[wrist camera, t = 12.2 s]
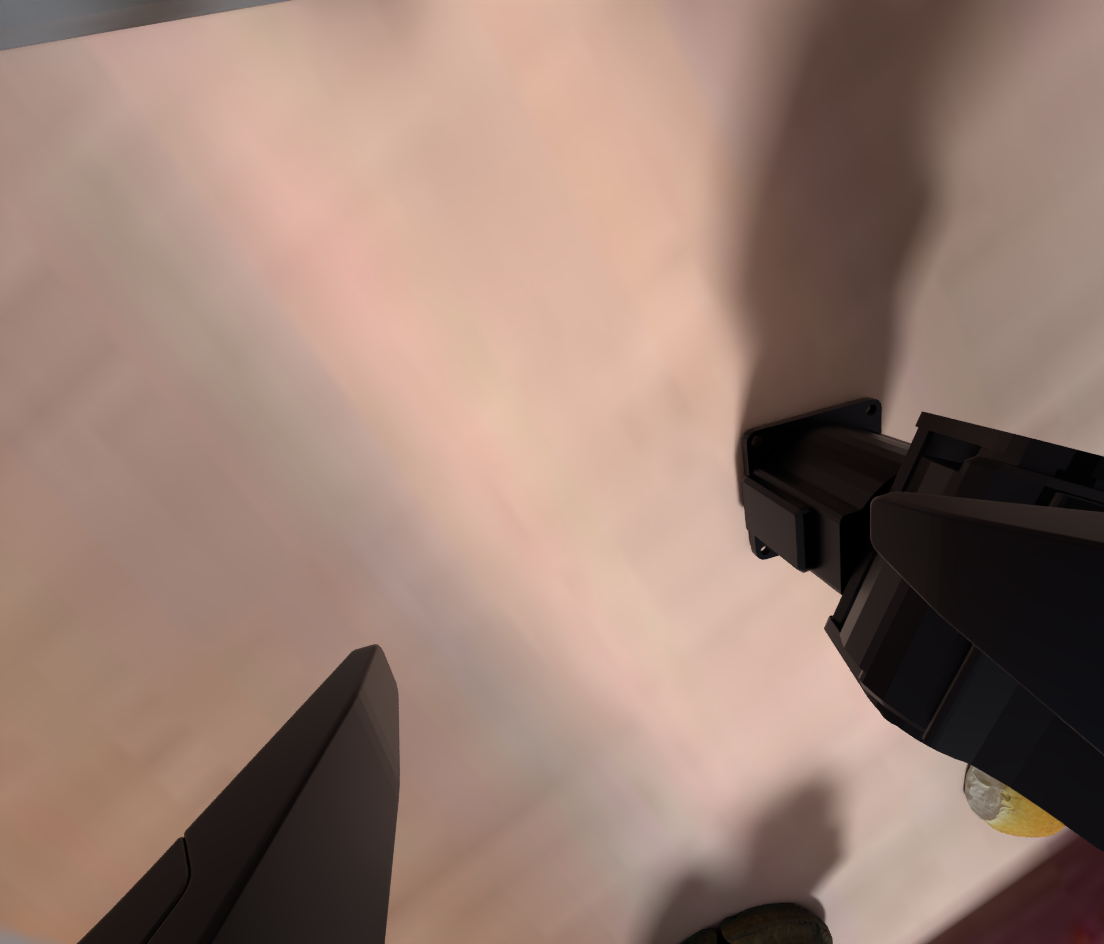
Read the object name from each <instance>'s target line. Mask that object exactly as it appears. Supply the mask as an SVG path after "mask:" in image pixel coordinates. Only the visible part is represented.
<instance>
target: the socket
mask: <svg viewBox="0 0 1104 944" xmlns="http://www.w3.org/2000/svg"><path fill="white" fill-rule="evenodd" d="M283 1H289V0H0V50H5V49H11V48H17V47H22V46H28V45H34V44H40V43H46V42H51V41H57V40H63V39H69V38H74V37H80V36H86V35H92V34H98V33H103V32H109V31H115V30H121V29H127V28H132V27H138V26H144V25H150V24H156V23H161V22H167V21H173V20H179V19H185V18H190V17H196V16H202V15H208V14H214V13H219V12H225V11H231V10H237V9H243V8H248V7H254V6H260V5H266V4H271V3H277V2H283Z"/></svg>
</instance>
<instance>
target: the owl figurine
mask: <svg viewBox="0 0 1104 944" xmlns="http://www.w3.org/2000/svg"><path fill="white" fill-rule="evenodd" d="M721 930H722V935H723V937H724V938H725V939H726V940H727V941H728V942H730V943H731V944H833V941H832V936H831V934H830V931H829V929H828V927H827V925H826V924H825V923H824V922H823V921H822V920H821V919H820V918H819V917H817V916H815V915H814V914H812V913H811V912H809V911H808V910H807V909H806V908H802V907H800V906H796V905H794V904H789V903H786V904H782V903H780V904H766V905H762V906H757V907H754V908H751V909H748V910H746V911H744V912H742V913H740V914H738V916H737V918H727V919H725V920H724V921H723V922H722V923H721ZM682 944H717V933H716V931H714V930H711V929H710V930H708V929H706V930H701V931H699V932H698V933H696V934H695V935H693V936H692V937H690V938H688V939H687V940H685V941H684V942H683V943H682Z"/></svg>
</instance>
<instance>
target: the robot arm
mask: <svg viewBox="0 0 1104 944" xmlns="http://www.w3.org/2000/svg"><path fill="white" fill-rule="evenodd" d="M868 406H870V409H869V411H868V412H867V413H866V410H867V408H868ZM881 412H882V407H881V403H880V402H879V400H876V399H873V398H869V397H867V398H862V399H858V400H854V401H851V402H847V403H843V404H840V405H836V406H832V407H828V408H825V409H821V410H817V411H814V412H810V413H806V414H803V415H799V416H795V417H792V418H788V419H784V420H781V421H777V422H773V423H770V424H766V425H762V426H759V427H755V428H751V429H749V430H747V431H746V432H745V433H744V435H743V437H742V450H743V461H744V472H745V477H744V479H743V481H742V488H743V499H744V510H745V521H746V528H747V530H748V531H750V540H751V550H752V552H753V553H754V554H755V555H756V556H757V557H758V558H759V559H762V560H763V559H769V558H772V557H775V556H779V555H780V556H781V557H782V558H783V559H785V560H786V561H787V562H788V563H790V564H791V565H792V566H793V567H795V568H796V569H797V570H799V571H801V572H803V573H804V572H808V571H811V572H812V573H814V574H815V575H816V576H818V577H819V578H820V579H821V580H823V581H824V582H825V583H827V584H828V585H829V586H830V587H832V588H833V589H834V590H836V591H837V592H838V593H840V594H841V595H842V597H841V599H840V601H839V604H838V606H837V608H836V610H835V612H834V615H833V616H829V618H828V621H827V623H826V625H825V627H824V630H825V631H826V633H827V634H828V636H829V637H830V639H831V640H832V642H833V644H834V645H835V647H836V648H837V650H838V651H839V653H840V655H841V656H842V658H843V659H844V661H845V662H846V664H847V666H848V667H849V669H850V670H851V672H852V673H853V675H854V677H855V678H856V680H857V681H858V683H859V684H860V686H861V687H862V689H863V691H864V692H865V694H866V695H867V697H868V698H869V699H870V701H871V702H872V703H873V705H874V706H875V707H876V708H877V709H878V710H879V712H880V713H881V715H882V716H883V717H884V718H885V719H886V720H887V721H889V722H890V723H892V724H894V725H896V726H898V727H899V728H900V729H902V730H903V731H905V732H906V733H908V734H909V735H911V736H912V737H914V738H915V739H917V740H918V741H920V742H922V743H924V744H925V745H927V746H929V747H931V748H933V749H935V750H936V751H939V752H941V753H943V754H945V755H948V756H950V757H952V758H954V759H958V760H961V761H964V762H966V763H968V764H970V765H972V766H974V767H975V768H977V769H979V770H980V771H982V772H984V773H986V774H987V775H989V776H991V777H993V778H994V779H996V780H998V781H1000V782H1001V783H1003V784H1005V785H1006V786H1008V787H1010V788H1011V789H1013V790H1014V791H1016V792H1017V793H1019V794H1020V795H1022V796H1023V797H1025V798H1026V799H1028V800H1029V801H1031V802H1032V803H1034V804H1035V805H1037V806H1038V807H1040V808H1041V809H1043V810H1044V811H1046V812H1047V813H1048V814H1050V815H1051V816H1053V817H1054V818H1055V819H1057V820H1058V821H1060V822H1061V823H1063V824H1064V825H1065V826H1067V827H1068V828H1070V829H1071V830H1073V831H1074V832H1075V833H1077V834H1078V835H1080V836H1081V837H1083V838H1084V839H1085V840H1087V841H1088V842H1090V843H1091V844H1093V845H1094V846H1095V847H1097V848H1099V849H1100V850H1102V851H1104V457H1103V456H1099V455H1096V454H1092V453H1088V452H1084V451H1080V450H1076V449H1072V448H1068V447H1064V446H1060V445H1056V444H1052V443H1048V442H1044V441H1040V440H1036V439H1032V438H1028V437H1024V436H1020V435H1016V434H1012V433H1008V432H1004V431H1000V430H996V429H992V428H988V427H984V426H980V425H976V424H971V423H967V422H963V421H959V420H955V419H951V418H947V417H943V416H939V415H935V414H931V413H926V412H921V415H920V417H919V419H918V421H917V423H916V427H918V429H917V432H916V434H915V436H914V438H913V441H912V443H908V442H905V441H902V440H899V439H896V438H893V437H890V436H887V435H884V434H881ZM756 436H757V437H758V439H757V442H756V443H755V444H753V445H752V440H753V438H754V437H756ZM765 545H766V547H765V549H764V550H762V551H761V549H762V547H763V546H765ZM399 787H400V754H399V697H398V689H397V684H396V681H395V679H394V676H393V674H392V671H391V669H390V666H389V664H388V662H387V659H386V657H385V654H384V652H383V650H382V648H381V647H380V646H379V645H377V644H373V645H370V646H366V647H363V648H359V649H356V650H354V651H352V652H351V653H350V654H349V655H348V656H347V658H346V659H345V660H344V661H343V662H342V663H341V664H340V665H339V666H338V667H337V668H336V669H335V670H334V672H333V673H332V674H331V675H330V676H329V677H328V678H327V679H326V680H325V681H324V682H323V683H322V685H321V686H320V687H319V688H318V689H317V690H316V691H315V692H314V693H313V694H312V695H311V696H310V697H309V699H308V700H307V701H306V702H305V703H304V704H303V705H302V706H301V707H300V708H299V709H298V710H297V711H296V713H295V714H294V715H293V716H292V717H291V718H290V719H289V720H288V721H287V722H286V723H285V724H284V725H283V727H282V728H281V729H280V730H279V731H278V732H277V733H276V734H275V735H274V736H273V737H272V738H271V739H270V741H269V742H268V743H267V744H266V745H265V746H264V747H263V748H262V749H261V750H260V751H259V752H258V753H257V755H256V756H255V757H254V758H253V759H252V760H251V761H250V762H249V763H248V764H247V765H246V766H245V767H244V768H243V770H242V771H241V772H240V773H239V774H238V775H237V776H236V777H235V778H234V779H233V780H232V781H231V782H230V784H229V785H228V786H227V787H226V788H225V789H224V790H223V791H222V792H221V793H220V794H219V795H218V796H217V798H216V799H215V800H214V801H213V802H212V803H211V804H210V805H209V806H208V807H207V808H206V809H205V810H204V812H203V813H202V814H201V815H200V816H199V817H198V818H197V819H196V820H195V821H194V822H193V823H192V824H191V826H190V827H189V828H188V829H187V830H186V831H185V833H184V837H180V838H178V839H177V840H176V841H175V843H174V844H173V845H172V846H171V847H170V848H169V849H168V850H167V851H166V852H165V853H164V855H163V856H162V857H161V858H160V859H159V860H158V861H157V862H156V863H155V864H154V865H153V866H152V867H151V868H150V870H149V871H148V872H147V873H146V874H145V875H144V876H143V877H142V878H141V879H140V880H139V881H138V882H137V883H136V884H135V885H134V886H133V887H132V888H131V889H130V890H129V892H128V893H127V894H126V895H125V896H124V897H123V898H122V899H121V900H120V901H119V902H118V903H117V904H116V905H115V906H114V907H113V908H112V909H111V910H110V911H109V912H108V913H107V914H106V915H105V916H104V917H103V918H102V919H101V920H100V921H99V922H98V923H97V924H96V925H95V926H94V927H93V928H92V929H91V930H90V931H89V932H88V933H87V934H86V935H85V936H84V937H83V938H82V939H81V940H80V941H79V942H78V943H77V944H385V935H386V925H387V914H388V904H389V894H390V884H391V873H392V863H393V853H394V843H395V832H396V822H397V812H398V801H399Z"/></svg>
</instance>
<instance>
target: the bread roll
mask: <svg viewBox="0 0 1104 944" xmlns="http://www.w3.org/2000/svg"><path fill="white" fill-rule="evenodd" d="M965 795H966V799H967V801H968V803H969V805H970V807H971V809H972V810H973V811H974V812H975V814H976V815H977V816H978V817H980V818H981V819H982V820H984V821H985V822H986V823H987V824H988V825H989V826H991V827H992V828H994V829H995V830H998V831H1000V832H1002V833H1006V834H1010V835H1015V836H1020V837H1046V836H1050V835H1053V834H1055V833H1057V832H1059V831H1060V830H1061V829H1062V828H1063V827H1065V825H1064V824H1063V823H1061V822H1060V821H1058V820H1057V819H1055V818H1054V817H1053V816H1051V815H1050V814H1048V813H1047V812H1046V811H1044V810H1043V809H1041V808H1040V807H1038V806H1037V805H1035V804H1034V803H1032V802H1031V801H1029V800H1028V799H1026V798H1025V797H1023V796H1022V795H1020V794H1019V793H1017V792H1016V791H1014V790H1013V789H1011V788H1010V787H1008V786H1006V785H1005V784H1003V783H1001V782H1000V781H998V780H996V779H994V778H993V777H991V776H989V775H987V774H986V773H984V772H982V771H980V770H979V769H977V768H975V767H974V766H972V765H970V767H969V770H968V772H967V774H966V780H965Z"/></svg>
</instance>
